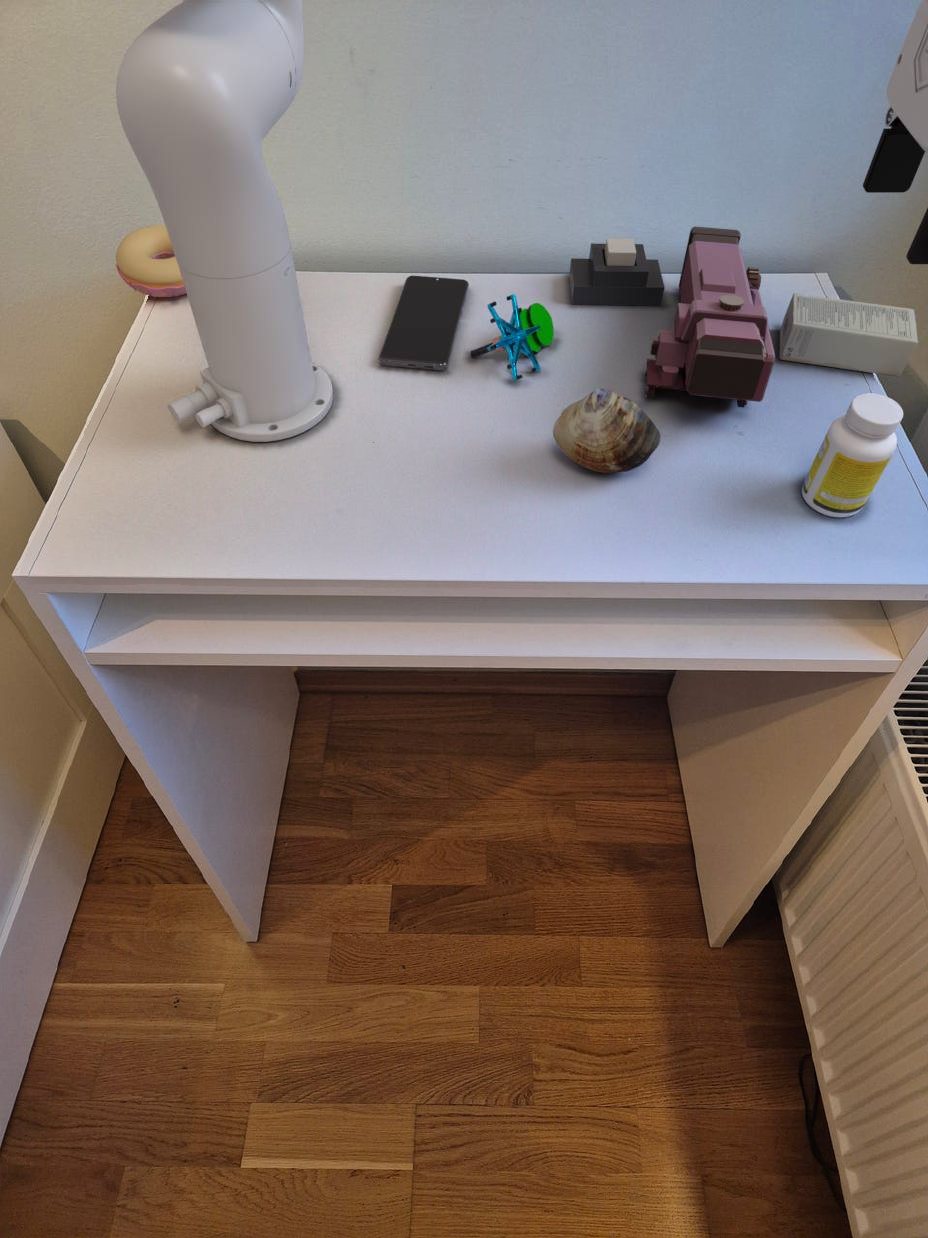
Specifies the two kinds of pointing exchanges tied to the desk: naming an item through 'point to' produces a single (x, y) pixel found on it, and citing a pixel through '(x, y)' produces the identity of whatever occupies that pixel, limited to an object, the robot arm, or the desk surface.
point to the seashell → (606, 433)
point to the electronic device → (715, 325)
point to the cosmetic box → (848, 334)
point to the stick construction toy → (520, 334)
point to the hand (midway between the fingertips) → (906, 224)
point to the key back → (620, 252)
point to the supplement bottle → (853, 456)
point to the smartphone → (425, 323)
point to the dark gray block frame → (615, 280)
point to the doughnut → (150, 263)
